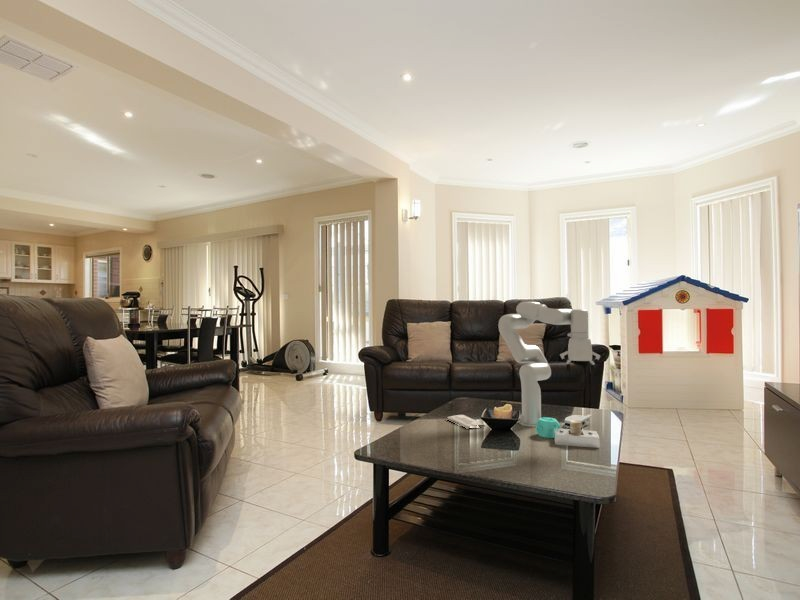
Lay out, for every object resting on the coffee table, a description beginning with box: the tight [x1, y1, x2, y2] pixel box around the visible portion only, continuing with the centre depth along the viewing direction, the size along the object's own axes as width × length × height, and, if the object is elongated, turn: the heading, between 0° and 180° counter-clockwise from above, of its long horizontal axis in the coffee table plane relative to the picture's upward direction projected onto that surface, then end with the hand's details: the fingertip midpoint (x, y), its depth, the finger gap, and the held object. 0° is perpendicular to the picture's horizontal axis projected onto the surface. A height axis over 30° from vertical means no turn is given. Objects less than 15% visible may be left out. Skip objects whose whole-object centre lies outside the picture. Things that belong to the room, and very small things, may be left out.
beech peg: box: [569, 420, 582, 435], centre depth 196 cm, size 4×4×10 cm
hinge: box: [563, 413, 593, 429], centre depth 225 cm, size 17×5×10 cm
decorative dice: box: [535, 416, 561, 439], centre depth 208 cm, size 8×8×8 cm
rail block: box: [553, 428, 601, 449], centre depth 196 cm, size 18×10×5 cm, turn 73°
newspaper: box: [447, 414, 486, 430], centre depth 230 cm, size 23×12×2 cm, turn 20°
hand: (580, 372), depth 204 cm, fingers open, 9 cm apart
